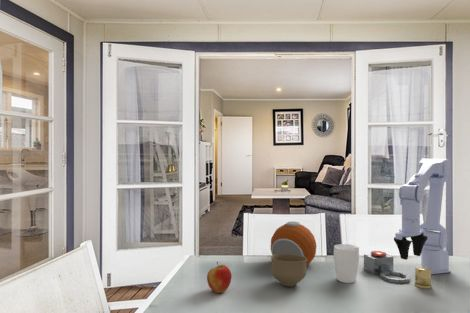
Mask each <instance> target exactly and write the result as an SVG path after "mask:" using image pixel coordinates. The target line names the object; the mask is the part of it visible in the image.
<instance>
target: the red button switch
mask: <svg viewBox="0 0 470 313" xmlns="http://www.w3.org/2000/svg"><path fill="white" fill-rule="evenodd" d="M363 270H364V271H366V272H368V273H370V274H372V275H380V277H379V278H380V279H382V280H384V281H385V282H388V283H395V284H400V285H401V284H405V283H407V284H408V283H410V279H411V278H410V275H409V274H407V273H405V272H401V271H397V270H396V271H395V270H394V256H393V255H390V254H387V253H386V252H385V251H382V250H381V251H380V250H372V251H370V253H364V254H363ZM389 276H396V277H397V276H398V277H401V278H395V277H389Z"/></svg>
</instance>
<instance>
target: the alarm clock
mask: <svg viewBox="0 0 470 313" xmlns="http://www.w3.org/2000/svg"><path fill="white" fill-rule="evenodd" d="M270 252H271V253H270V254H271V256H272V255H276V254H294V255H300V256H304V257H306V258H307V262H306V268H307V267H308V266H309V265H310V264H311V263H312V261H313V260H314V258H315V256H316V255H317V254H316V253H317V242H316V238H315V235H314V234H313V233H312V231H311V230H310V229H309V228H308V227H306V226H305V225H303V224H301V223H300V222H299V221H287V222H286V223H285V224H283V225H280V226H279V227H278V228H277V229H275V231H274V232H273V235H272V237H271V239H270Z"/></svg>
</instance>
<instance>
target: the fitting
mask: <svg viewBox="0 0 470 313" xmlns="http://www.w3.org/2000/svg"><path fill="white" fill-rule="evenodd" d="M414 270H415V277H414V278H415V279H414V286H415V287H417V288H419V289H421V290H429V289H432V288H433V286H432V274H431V269H429V268H426V267H419V266H415V268H414Z"/></svg>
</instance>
